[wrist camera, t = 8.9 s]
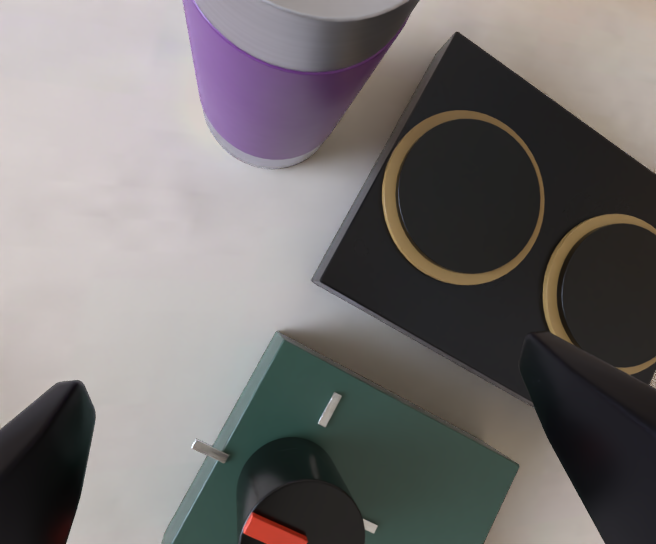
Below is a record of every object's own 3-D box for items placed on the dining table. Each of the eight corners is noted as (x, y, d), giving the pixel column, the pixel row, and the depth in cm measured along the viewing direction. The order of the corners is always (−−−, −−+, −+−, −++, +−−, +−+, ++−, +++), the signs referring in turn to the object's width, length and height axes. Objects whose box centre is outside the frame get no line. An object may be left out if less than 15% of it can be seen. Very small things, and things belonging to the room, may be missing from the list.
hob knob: (354, 462, 19) (390, 515, 14) (307, 554, 18) (330, 637, 14) (268, 419, 18) (279, 462, 14) (216, 514, 18) (212, 589, 13)
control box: (392, 632, 22) (418, 689, 19) (140, 524, 20) (123, 569, 17) (484, 441, 23) (523, 466, 20) (255, 319, 21) (259, 326, 18)
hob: (586, 437, 24) (632, 458, 22) (310, 280, 21) (322, 281, 19) (681, 226, 26) (737, 220, 23) (435, 53, 23) (464, 21, 20)
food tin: (359, 111, 22) (519, -96, 10) (269, 197, 21) (320, 86, 9) (269, 11, 21) (322, -351, 9) (171, 96, 20) (80, -180, 8)
